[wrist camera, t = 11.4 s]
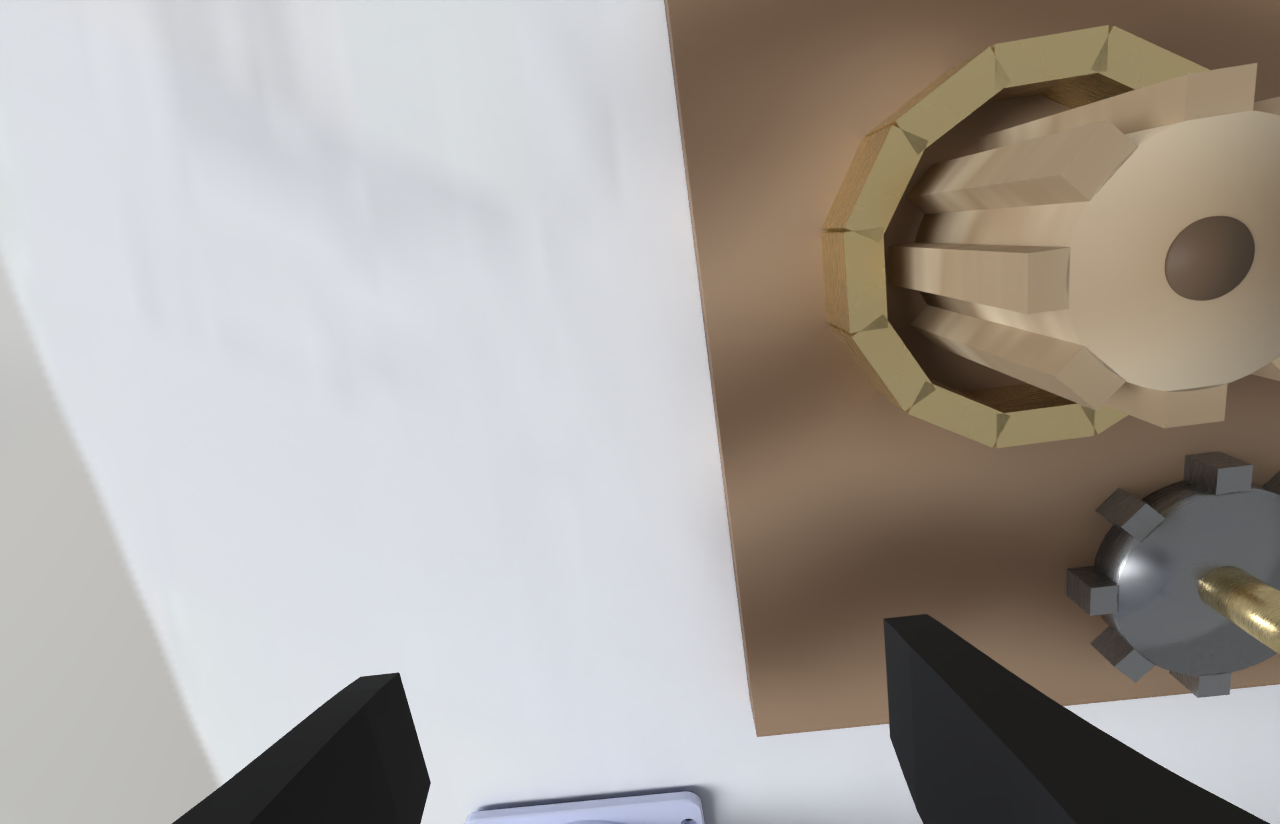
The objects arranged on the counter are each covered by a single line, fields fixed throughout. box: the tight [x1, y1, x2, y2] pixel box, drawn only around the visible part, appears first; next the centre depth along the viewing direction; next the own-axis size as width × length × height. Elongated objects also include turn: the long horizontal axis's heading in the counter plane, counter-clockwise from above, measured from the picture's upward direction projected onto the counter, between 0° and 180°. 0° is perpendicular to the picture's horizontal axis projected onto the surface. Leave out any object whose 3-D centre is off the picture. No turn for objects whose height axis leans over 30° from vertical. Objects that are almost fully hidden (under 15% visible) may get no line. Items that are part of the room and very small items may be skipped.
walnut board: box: [664, 0, 1280, 737], centre depth 17 cm, size 20×16×2 cm
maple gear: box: [889, 63, 1280, 428], centre depth 12 cm, size 5×5×6 cm
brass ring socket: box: [820, 25, 1209, 448], centre depth 14 cm, size 8×8×2 cm
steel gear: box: [1066, 451, 1280, 698], centre depth 16 cm, size 6×6×3 cm
